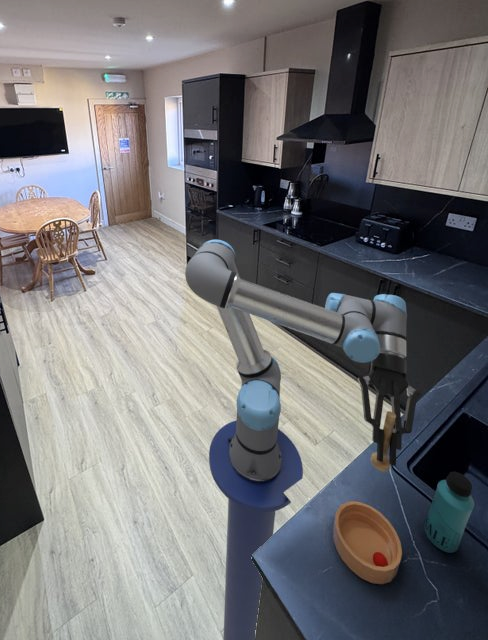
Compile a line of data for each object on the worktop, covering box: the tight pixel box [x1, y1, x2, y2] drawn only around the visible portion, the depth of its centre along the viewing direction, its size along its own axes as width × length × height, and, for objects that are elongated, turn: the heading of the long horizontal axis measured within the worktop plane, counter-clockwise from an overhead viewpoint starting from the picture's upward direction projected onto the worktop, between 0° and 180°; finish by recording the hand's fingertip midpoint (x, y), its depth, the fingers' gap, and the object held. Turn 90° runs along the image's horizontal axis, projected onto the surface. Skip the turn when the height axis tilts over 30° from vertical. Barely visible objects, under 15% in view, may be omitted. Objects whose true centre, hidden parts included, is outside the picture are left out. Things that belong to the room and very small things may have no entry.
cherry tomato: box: [373, 552, 388, 567], centre depth 69 cm, size 3×3×3 cm
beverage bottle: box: [424, 471, 475, 554], centre depth 71 cm, size 6×7×20 cm
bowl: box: [332, 500, 403, 585], centre depth 72 cm, size 13×13×5 cm
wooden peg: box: [370, 410, 396, 473], centre depth 75 cm, size 4×4×15 cm
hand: (386, 462), depth 72 cm, fingers closed on wooden peg, 2 cm apart
